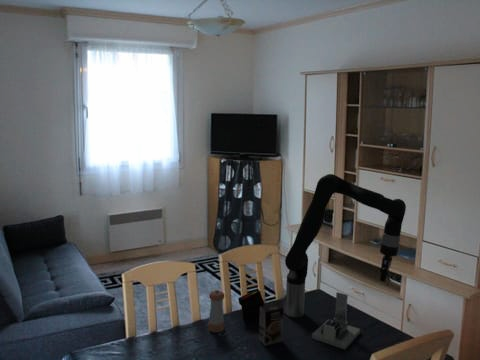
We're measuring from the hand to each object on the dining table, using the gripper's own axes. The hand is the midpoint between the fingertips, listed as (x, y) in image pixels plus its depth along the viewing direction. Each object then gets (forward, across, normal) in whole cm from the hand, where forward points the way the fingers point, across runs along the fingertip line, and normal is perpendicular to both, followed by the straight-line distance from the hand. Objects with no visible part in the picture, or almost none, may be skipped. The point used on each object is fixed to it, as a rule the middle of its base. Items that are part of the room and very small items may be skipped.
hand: (383, 278), depth 213 cm
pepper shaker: (+36, +25, -68) cm, 81 cm away
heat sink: (+29, +8, -16) cm, 34 cm away
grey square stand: (+30, +6, -16) cm, 35 cm away
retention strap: (+23, +3, -16) cm, 28 cm away
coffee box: (+34, +24, -41) cm, 58 cm away
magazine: (+34, +9, -57) cm, 67 cm away
